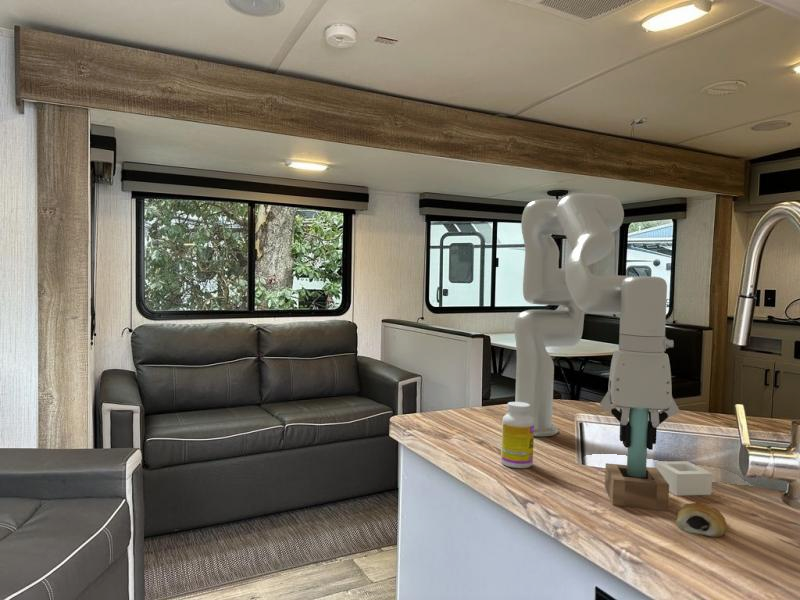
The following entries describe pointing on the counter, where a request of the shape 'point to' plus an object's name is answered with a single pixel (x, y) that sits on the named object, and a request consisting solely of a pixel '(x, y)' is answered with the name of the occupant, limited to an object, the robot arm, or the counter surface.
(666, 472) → the white square holed block
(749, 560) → the counter surface
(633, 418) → the dowel
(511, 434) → the supplement bottle
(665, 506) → the brown square wooden frame
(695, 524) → the pastry
